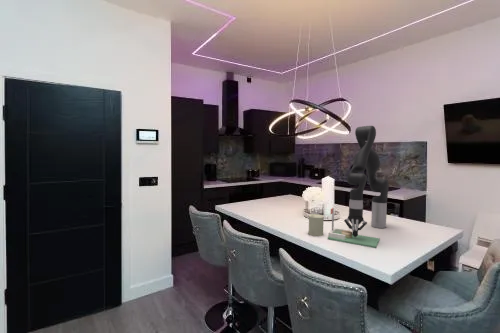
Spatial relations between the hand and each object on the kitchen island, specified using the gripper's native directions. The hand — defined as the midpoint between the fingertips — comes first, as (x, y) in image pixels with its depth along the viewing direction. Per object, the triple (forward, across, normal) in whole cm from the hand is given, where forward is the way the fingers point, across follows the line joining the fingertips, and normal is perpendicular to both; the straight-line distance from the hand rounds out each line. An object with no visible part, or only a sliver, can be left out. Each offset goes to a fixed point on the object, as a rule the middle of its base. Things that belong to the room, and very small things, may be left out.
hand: (355, 236), depth 156 cm
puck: (+1, +5, 0) cm, 5 cm away
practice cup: (+1, +8, 0) cm, 8 cm away
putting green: (+2, +1, 0) cm, 2 cm away
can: (+2, +23, +2) cm, 23 cm away
